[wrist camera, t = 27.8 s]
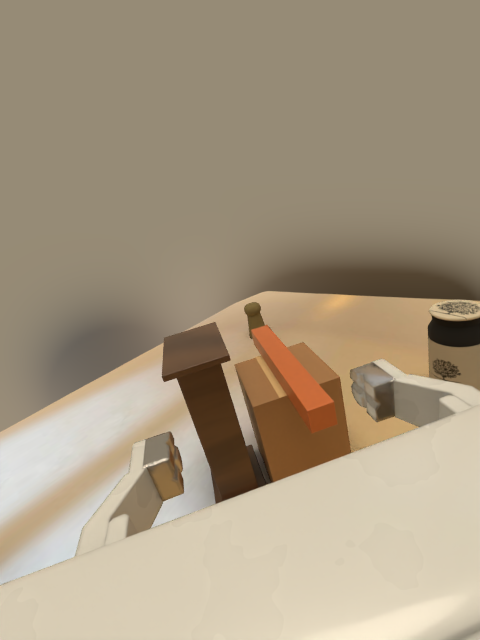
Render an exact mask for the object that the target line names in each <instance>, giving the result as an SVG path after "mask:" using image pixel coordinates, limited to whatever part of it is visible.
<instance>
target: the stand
mask: <svg viewBox="0 0 480 640" xmlns="http://www.w3.org/2000/svg"><path fill="white" fill-rule="evenodd" d="M227 361H230V356H229V353H228V351H227V349H226V346H225V344H224V342H223V339H222V337H221V334H220V332H219V330H218V327H217V325H216V323H215V322H214V323H210V324H207V325H204V326H201V327H198V328H194V329H191V330H188V331H185V332H181V333H178V334H175V335H172V336H168V337H165V338H164V347H163V365H162V378H163V381H164V382H166V381H169V380H172V379H175V378H177V380H178V383H179V385H180V388H181V391H182V393H183V396H184V399H185V401H186V404H187V407H188V409H189V412H190V415H191V418H192V420H193V423H194V426H195V428H196V431H197V434H198V436H199V439H200V442H201V444H202V447H203V450H204V452H205V455H206V458H207V460H208V463H209V466H210V469H211V475H212V481H213V488H214V494H215V500H216V504H217V503H220V502H222V501H225V500H228V499H230V498H233V497H236V496H238V495H241V494H244V493H246V492H249V491H252V490H254V489H257V488H260V487H262V486H265V485H266V483H265V481H264V478H263V475H262V472H261V469H260V467H259V464H258V461H257V458H256V455H255V452H254V450H253V447H252V445H249V446H246V445H245V441H244V438H243V435H242V431H241V428H240V425H239V422H238V418H237V415H236V412H235V409H234V405H233V402H232V399H231V396H230V392H229V389H228V386H227V383H226V379H225V376H224V373H223V370H222V366H221V363H224V362H227Z"/></svg>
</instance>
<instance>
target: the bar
mask: <svg viewBox="0 0 480 640" xmlns="http://www.w3.org/2000/svg"><path fill="white" fill-rule="evenodd" d="M251 333H252V337H253V341H254V345H255V346H256V348H257V349H258V351H259V353H260V354H261V356H262V357H263V359H264V360H265V362H266V363H267V365H268V366H269V368H270V370H271V371H272V373H273V374H274V376H275V377H276V379H277V380H278V382H279V384H280V385H281V387H282V388H283V390H284V391H285V393H286V394H287V396H288V398H289V399H290V401H291V402H292V404H293V405H294V407H295V408H296V410H297V411H298V413H299V415H300V416H301V418H302V419H303V421H304V422H305V424H306V425H307V427H308V429H309V430H310V432H311V433H315V432H318V431H320V430H323V429H326V428H329V427H331V426H334V425H337V424H338V423H337V417H336V411H335V405H334V401H333V400H332V399H331V398H330V396H329V395H328V394H327V393H326V392H325V391H324V390H323V388H322V387H321V386H320V385H319V384H318V383H317V382H316V380H315V379H314V378H313V377H312V376H311V375H310V374H309V372H308V371H307V370H306V369H305V368H304V367H303V366H302V364H301V363H300V362H299V361H298V360H297V359H296V358H295V356H294V355H293V354H292V353H291V352H290V351H289V350H288V349H287V347H286V346H285V345H284V344H283V343H282V342H281V341H280V339H279V338H278V337H277V336H276V335H275V334H274V333H273V331H272V330H271V329H270V328H269V327H268V326H267V325H265V326H262V327H259V328H256V329H252V330H251Z"/></svg>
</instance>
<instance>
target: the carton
mask: <svg viewBox="0 0 480 640" xmlns="http://www.w3.org/2000/svg"><path fill="white" fill-rule="evenodd" d="M287 349H288V350H289V351H290V352H291V353H292V354H293V355H294V356H295V358H296V359H297V360H298V361H299V362H300V363H301V364H302V366H303V367H304V368H305V369H306V370H307V371H308V372H309V374H310V375H311V376H312V377H313V378H314V379H315V380H316V382H317V383H318V384H319V385H320V386H321V387H322V388H323V390H324V391H325V392H326V393H327V394H328V395H329V396H330V398H331V399H332V400H333V401H334V405H335V411H336V417H337V423H338V424H337V425H334V426H331V427H329V428H326V429H323V430H320V431H318V432H315V433H311V432H310V430H309V429H308V427H307V425H306V424H305V422H304V421H303V419H302V418H301V416H300V415H299V413H298V411H297V410H296V408H295V407H294V405H293V404H292V402H291V401H290V399H289V398H288V396H287V394H286V393H285V391H284V390H283V388H282V387H281V385H280V384H279V382H278V380H277V379H276V377H275V376H274V374H273V373H272V371H271V370H270V368H269V366H268V365H267V363H266V362H265V360H264V359H263V357H262V356H258V357H255V358H253V359H250V360H247V361H244V362H241V363H238V364H235V368H236V372H237V375H238V379H239V382H240V385H241V389H242V392H243V396H244V399H245V403H246V406H247V410H248V413H249V417H250V420H251V424H252V427H253V431H254V434H255V438H256V441H257V444H258V448H259V451H260V453H261V456H262V459H263V461H264V464H265V467H266V469H267V472H268V475H269V477H270V480H271V482H272V483H273V482H276V481H278V480H281V479H283V478H286V477H289V476H291V475H294V474H297V473H299V472H302V471H305V470H307V469H310V468H313V467H315V466H318V465H321V464H323V463H326V462H329V461H331V460H334V459H337V458H339V457H342V456H344V455H347V454H350V453H351V449H350V443H349V436H348V429H347V422H346V416H345V409H344V402H343V395H342V389H341V382H340V377H339V376H338V375H337V374H336V373H335V372H334V371H333V370H332V369H331V368H330V367H329V366H328V365H327V364H326V363H325V362H323V361H322V360H321V359H320V358H319V357H318V356H317V355H316V354H315V353H314V352H313V351H312V350H311V349H310V348H309V347H308V346H307V345H306V344H305V343H304V342H302V343H299V344H296V345H293V346H290V347H287Z"/></svg>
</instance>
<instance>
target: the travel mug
mask: <svg viewBox="0 0 480 640" xmlns="http://www.w3.org/2000/svg"><path fill="white" fill-rule="evenodd" d="M429 312H430V314H431V315H432V320H431V322H430V323H429V325H428V351H429V378H433V379H438V380H443V381H449V382H454V383H459V384H464V385H469V386H473V387H474V388H476V389H478V390H479V391H480V303H478V302H474V301H469V300H449V301H443V302H439V303H436V304H434V305H433V306H431V307H430V309H429Z"/></svg>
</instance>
